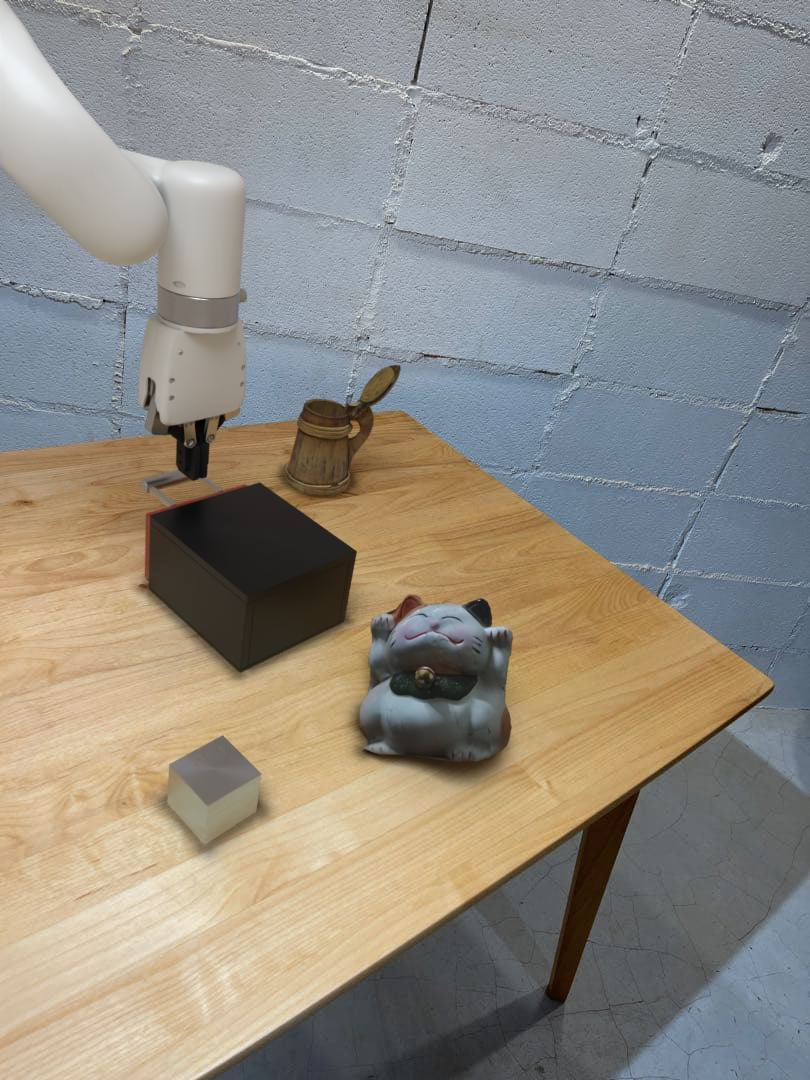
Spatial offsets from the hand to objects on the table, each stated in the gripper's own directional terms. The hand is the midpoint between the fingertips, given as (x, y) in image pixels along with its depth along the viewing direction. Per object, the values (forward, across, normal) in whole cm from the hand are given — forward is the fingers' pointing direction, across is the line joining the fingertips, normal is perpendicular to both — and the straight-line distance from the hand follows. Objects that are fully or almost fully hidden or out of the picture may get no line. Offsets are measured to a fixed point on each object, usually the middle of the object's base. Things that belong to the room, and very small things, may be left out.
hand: (192, 473), depth 87 cm
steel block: (+11, +18, +30) cm, 37 cm away
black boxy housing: (+11, 0, +11) cm, 16 cm away
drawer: (+10, 0, +6) cm, 12 cm away
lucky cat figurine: (+11, -3, +34) cm, 36 cm away
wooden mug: (+11, -27, -5) cm, 29 cm away
